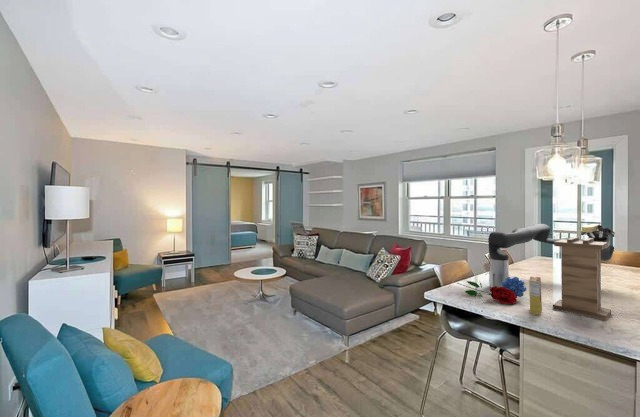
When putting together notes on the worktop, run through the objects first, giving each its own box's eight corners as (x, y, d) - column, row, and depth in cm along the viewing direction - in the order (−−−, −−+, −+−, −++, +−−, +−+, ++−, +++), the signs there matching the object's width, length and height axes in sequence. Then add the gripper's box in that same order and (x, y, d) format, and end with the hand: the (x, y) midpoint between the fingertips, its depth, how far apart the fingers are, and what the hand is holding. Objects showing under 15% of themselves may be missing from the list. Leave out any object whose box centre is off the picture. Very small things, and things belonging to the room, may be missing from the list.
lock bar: (590, 232, 136) (590, 227, 136) (581, 231, 138) (581, 226, 138) (599, 229, 151) (599, 224, 151) (592, 228, 153) (591, 224, 153)
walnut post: (605, 321, 119) (605, 241, 119) (552, 309, 134) (551, 238, 134) (611, 313, 128) (610, 239, 128) (560, 302, 142) (559, 236, 142)
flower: (455, 272, 162) (516, 288, 139) (461, 277, 167) (521, 293, 144) (450, 287, 160) (512, 306, 137) (456, 292, 165) (517, 310, 142)
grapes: (529, 300, 147) (529, 277, 147) (524, 303, 143) (524, 279, 143) (504, 294, 156) (503, 273, 156) (499, 297, 152) (498, 274, 152)
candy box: (530, 307, 136) (530, 275, 136) (541, 309, 134) (541, 277, 134) (529, 313, 130) (528, 279, 130) (540, 315, 127) (540, 281, 127)
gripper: (583, 233, 165) (577, 219, 156) (618, 234, 154) (613, 219, 145) (582, 244, 163) (575, 231, 154) (617, 247, 152) (612, 233, 142)
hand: (594, 225), depth 149 cm, fingers closed on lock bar, 3 cm apart
